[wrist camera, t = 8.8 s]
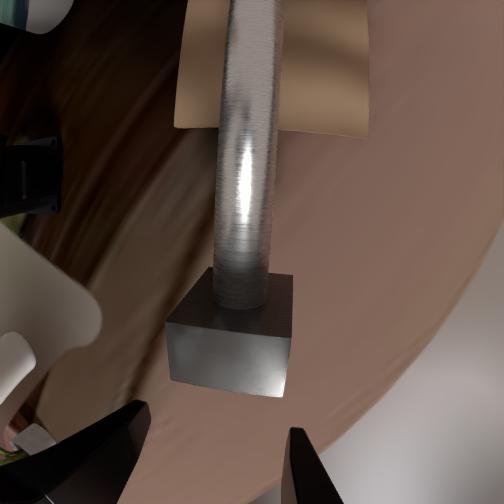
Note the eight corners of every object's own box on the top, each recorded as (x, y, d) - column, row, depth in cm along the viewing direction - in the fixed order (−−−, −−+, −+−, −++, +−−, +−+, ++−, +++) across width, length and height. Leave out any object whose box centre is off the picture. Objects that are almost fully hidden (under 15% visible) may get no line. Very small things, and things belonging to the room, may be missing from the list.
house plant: (13, 422, 36) (-31, 471, 20) (5, 384, 32) (-53, 440, 16) (70, 468, 36) (32, 525, 21) (73, 441, 32) (22, 512, 16)
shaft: (287, 322, 15) (282, 397, 10) (208, 312, 15) (170, 380, 10) (307, -68, 9) (307, -131, 3) (235, -68, 9) (213, -127, 4)
